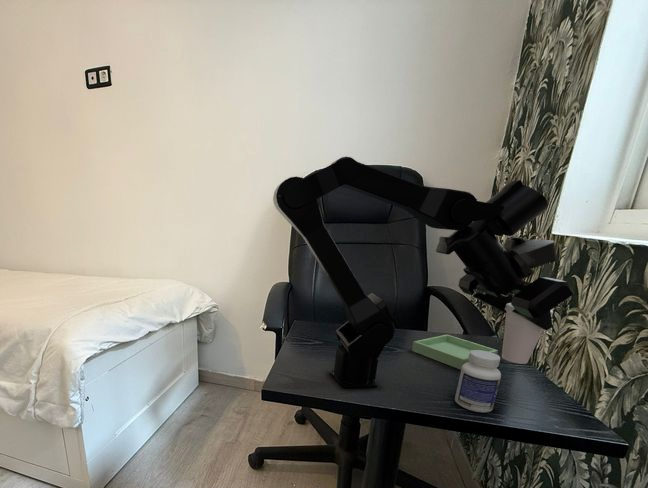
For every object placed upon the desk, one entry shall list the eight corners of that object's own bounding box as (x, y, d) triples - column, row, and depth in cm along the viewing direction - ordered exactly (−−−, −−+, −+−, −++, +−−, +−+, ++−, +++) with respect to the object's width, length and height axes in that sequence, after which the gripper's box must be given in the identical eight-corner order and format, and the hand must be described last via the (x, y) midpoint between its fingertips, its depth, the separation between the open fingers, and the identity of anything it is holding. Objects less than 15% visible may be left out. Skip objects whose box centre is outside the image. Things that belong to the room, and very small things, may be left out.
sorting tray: (461, 370, 71) (463, 359, 71) (411, 350, 81) (413, 341, 80) (495, 360, 77) (498, 350, 76) (445, 343, 86) (447, 334, 86)
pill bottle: (499, 415, 55) (513, 362, 53) (462, 411, 56) (474, 359, 54) (483, 398, 60) (495, 349, 58) (449, 395, 61) (459, 346, 59)
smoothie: (547, 367, 61) (572, 286, 57) (512, 367, 60) (535, 285, 56) (515, 352, 67) (536, 279, 63) (483, 352, 66) (502, 278, 62)
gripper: (580, 223, 48) (636, 305, 51) (489, 219, 66) (533, 281, 69) (506, 278, 50) (563, 354, 53) (437, 260, 68) (482, 318, 71)
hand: (533, 322), depth 61 cm, fingers closed on smoothie, 6 cm apart
